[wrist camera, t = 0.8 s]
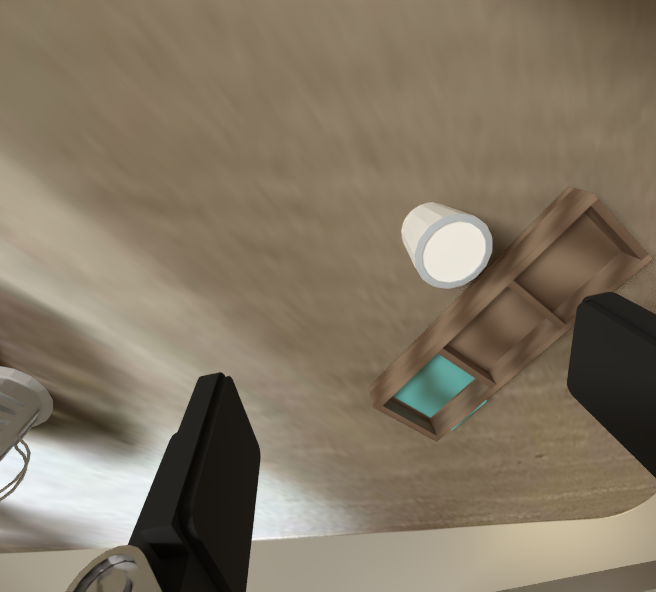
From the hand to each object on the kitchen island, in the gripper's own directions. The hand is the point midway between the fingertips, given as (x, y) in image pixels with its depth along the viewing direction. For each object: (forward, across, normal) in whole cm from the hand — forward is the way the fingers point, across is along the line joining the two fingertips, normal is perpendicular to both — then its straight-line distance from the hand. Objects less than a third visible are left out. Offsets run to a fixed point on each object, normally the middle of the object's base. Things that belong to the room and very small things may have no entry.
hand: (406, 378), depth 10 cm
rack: (+28, -16, +19) cm, 37 cm away
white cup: (+28, -10, +6) cm, 30 cm away
